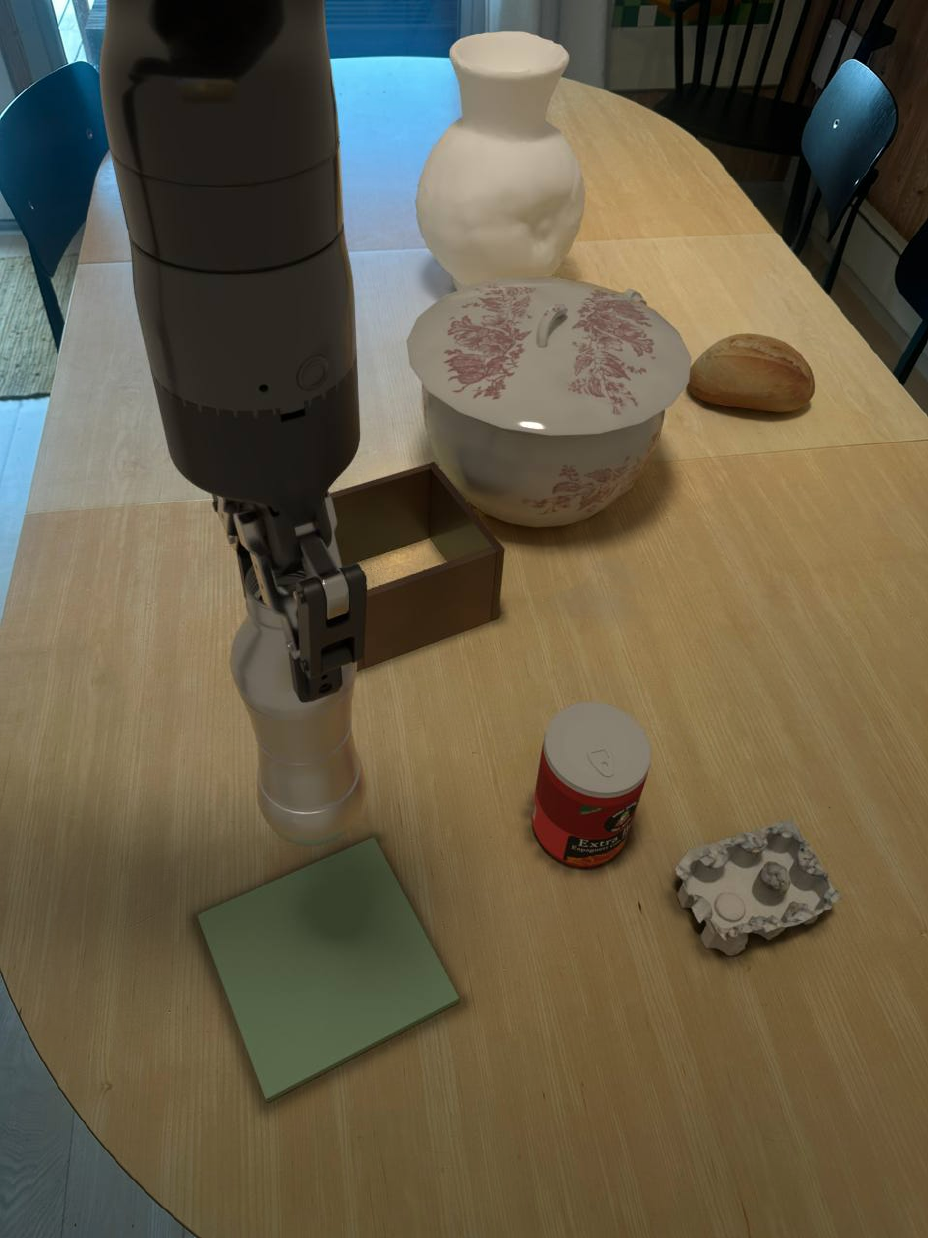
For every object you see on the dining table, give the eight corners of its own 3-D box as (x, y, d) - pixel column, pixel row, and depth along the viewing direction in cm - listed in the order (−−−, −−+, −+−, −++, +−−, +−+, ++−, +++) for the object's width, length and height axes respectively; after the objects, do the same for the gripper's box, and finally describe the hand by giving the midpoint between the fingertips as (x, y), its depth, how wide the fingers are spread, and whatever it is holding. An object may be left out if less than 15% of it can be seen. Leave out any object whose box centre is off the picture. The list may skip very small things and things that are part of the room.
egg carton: (709, 967, 69) (722, 943, 66) (662, 875, 74) (672, 849, 71) (836, 923, 72) (854, 897, 69) (782, 837, 77) (797, 810, 74)
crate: (356, 671, 86) (351, 602, 80) (299, 574, 94) (291, 504, 88) (498, 618, 92) (505, 548, 85) (432, 530, 99) (434, 461, 93)
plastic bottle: (361, 759, 62) (346, 523, 47) (374, 853, 57) (361, 624, 43) (259, 772, 61) (211, 535, 46) (263, 868, 56) (212, 640, 42)
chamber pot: (432, 585, 94) (436, 407, 79) (388, 418, 112) (384, 247, 97) (702, 552, 99) (755, 377, 84) (618, 397, 117) (649, 230, 102)
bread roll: (811, 432, 114) (833, 374, 108) (683, 416, 115) (697, 357, 109) (805, 386, 120) (825, 329, 114) (684, 371, 121) (698, 313, 115)
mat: (266, 1103, 62) (265, 1099, 62) (198, 919, 70) (196, 914, 70) (459, 1002, 67) (459, 998, 66) (374, 841, 75) (374, 836, 75)
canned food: (569, 888, 73) (589, 811, 65) (510, 808, 78) (521, 727, 69) (647, 841, 76) (676, 762, 68) (586, 767, 80) (606, 685, 72)
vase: (389, 287, 132) (384, 42, 110) (500, 240, 143) (517, 9, 121) (482, 345, 124) (498, 91, 101) (594, 291, 134) (630, 50, 112)
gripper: (98, 274, 38) (173, 575, 51) (219, 486, 30) (273, 785, 42) (278, 238, 41) (307, 533, 53) (435, 424, 33) (426, 722, 45)
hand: (292, 643), depth 48 cm, fingers closed on plastic bottle, 6 cm apart
